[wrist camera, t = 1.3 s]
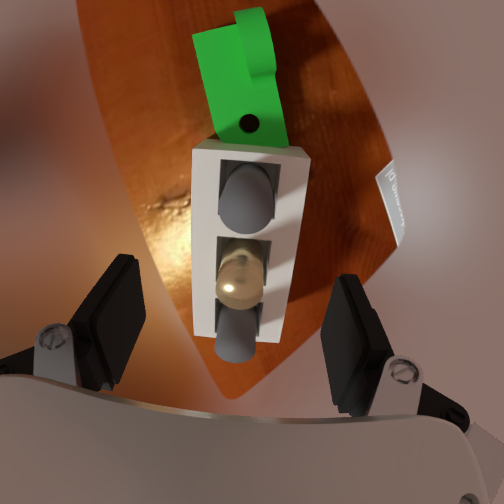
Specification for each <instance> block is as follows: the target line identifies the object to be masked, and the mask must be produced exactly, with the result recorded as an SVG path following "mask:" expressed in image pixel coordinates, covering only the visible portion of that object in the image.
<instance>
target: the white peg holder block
mask: <svg viewBox="0 0 504 504" xmlns="http://www.w3.org/2000/svg"><path fill="white" fill-rule="evenodd" d="M310 162H311V158H310V157H309V156H308V155H307V154H306V152H305V151H304V150H303V149H302V148H301V147H297V146H286V147H280V148H277V147H267V146H256V145H244V144H230V143H223V142H222V141H221V140H220V139H205V140H204V141H202V142H201V143H200V144H198V145H197V146H196V147H194V148H193V150H192V184H191V266H192V301H193V325H194V335H196V336H205V337H214V338H216V336H217V330H218V324H219V318H220V312H221V307H222V302H221V301H220V300H219V299H218V297H217V295H216V291H215V288H216V283H217V278H218V274H219V269H220V265H221V260H222V256H223V251H224V247H225V245H226V243H227V242H228V241H229V240H230V239H231V238H233V237H235V238H247V239H256V240H258V241H259V243H260V244H261V246H262V248H263V296H262V299H261V300H260V302H259V303H258V304H257V305H256V307H257V308H256V341H259V342H274V343H279V340H280V335H281V331H282V326H283V321H284V316H285V310H286V305H287V300H288V295H289V290H290V284H291V279H292V273H293V268H294V262H295V257H296V251H297V245H298V239H299V233H300V227H301V221H302V215H303V209H304V202H305V196H306V189H307V182H308V176H309V169H310ZM245 163H253V164H257V165H259V166H261V167H262V168H264V169H265V170H266V171H267V173H268V175H269V177H270V180H271V188H272V197H273V206H274V212H273V216H272V219H271V221H270V222H269V224H268V225H267V226H266V227H265V228H264V229H262V230H261V231H259V232H257V233H253V234H239V233H236V232H234V231H232V230H230V229H229V228H227V227H226V226H225V225H224V223H223V222H222V220H221V218H220V216H219V212H218V204H219V200H220V198H221V195H222V192H223V190H224V187H225V185H226V182H227V180H228V177H229V175H230V173H231V172H232V171H233V169H235V168H236V167H237V166H239V165H241V164H245Z"/></svg>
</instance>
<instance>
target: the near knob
mask: <svg viewBox="0 0 504 504" xmlns="http://www.w3.org/2000/svg"><path fill="white" fill-rule="evenodd" d="M218 212H219V216H220V218H221V220H222V222H223V223H224V225H225V226H226V227H227V228H229V229H230V230H232V231H234V232H236V233H239V234H253V233H257V232H259V231H261V230H262V229H264V228H265V227H266V226H267V225H268V224H269V222H270V221H271V219H272V216H273V212H274V206H273V197H272V188H271V180H270V177H269V175H268V173H267V171H266V170H265V169H264V168H262V167H261V166H259V165H257V164H253V163H245V164H241V165H239V166H237V167H236V168H235V169H233V171H232V172H231V173H230V175H229V177H228V180H227V182H226V185H225V187H224V190H223V192H222V195H221V198H220V200H219V204H218Z"/></svg>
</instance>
